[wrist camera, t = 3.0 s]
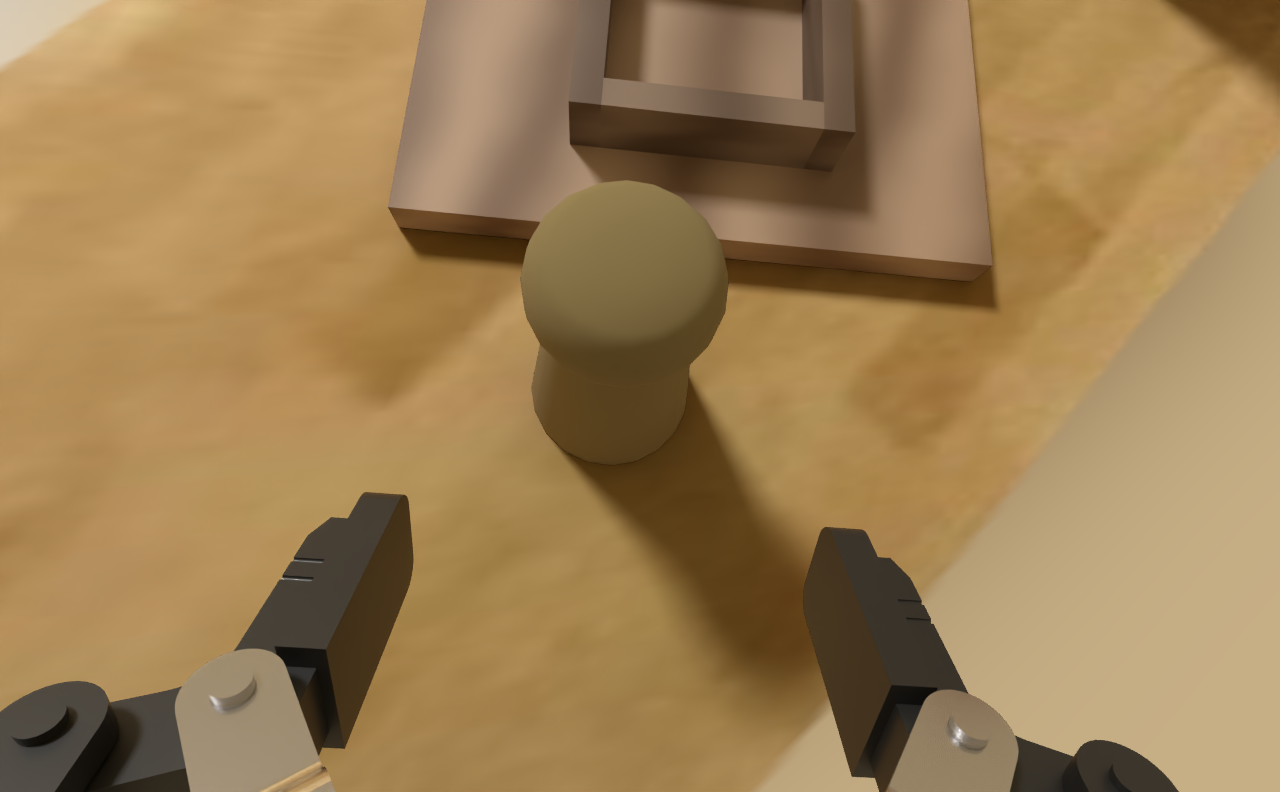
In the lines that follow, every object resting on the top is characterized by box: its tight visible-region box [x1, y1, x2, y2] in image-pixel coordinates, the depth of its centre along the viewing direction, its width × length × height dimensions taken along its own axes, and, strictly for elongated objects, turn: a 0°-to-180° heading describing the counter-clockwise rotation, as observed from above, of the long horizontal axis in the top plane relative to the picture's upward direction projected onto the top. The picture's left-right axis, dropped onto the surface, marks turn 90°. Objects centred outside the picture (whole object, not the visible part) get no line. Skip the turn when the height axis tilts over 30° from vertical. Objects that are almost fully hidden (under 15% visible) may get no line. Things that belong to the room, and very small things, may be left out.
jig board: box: [388, 0, 993, 282], centre depth 28 cm, size 24×18×4 cm
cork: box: [520, 180, 728, 465], centre depth 20 cm, size 6×6×11 cm
